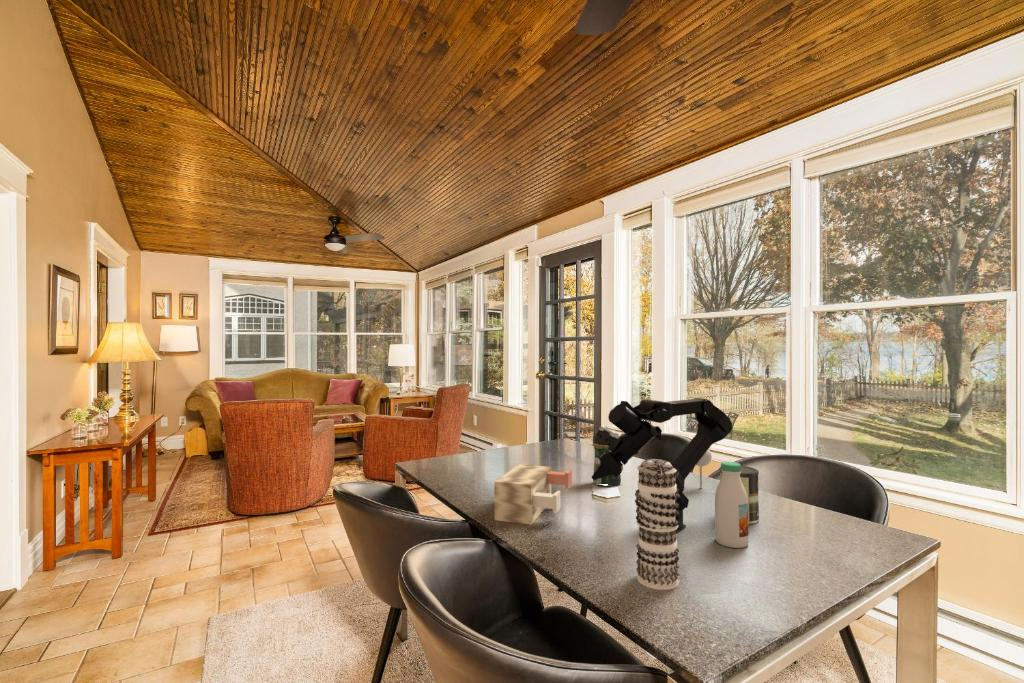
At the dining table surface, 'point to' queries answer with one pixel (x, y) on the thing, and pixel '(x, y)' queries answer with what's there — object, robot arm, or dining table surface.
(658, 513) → the decorative candle
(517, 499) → the socket block
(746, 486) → the coffee can
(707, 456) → the lollipop
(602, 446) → the coffee jar
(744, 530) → the milk bottle
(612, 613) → the dining table surface
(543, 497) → the cream plug
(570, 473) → the terracotta plug
